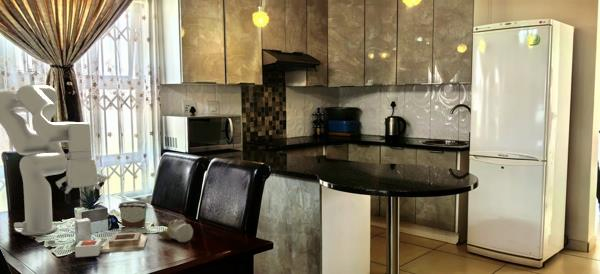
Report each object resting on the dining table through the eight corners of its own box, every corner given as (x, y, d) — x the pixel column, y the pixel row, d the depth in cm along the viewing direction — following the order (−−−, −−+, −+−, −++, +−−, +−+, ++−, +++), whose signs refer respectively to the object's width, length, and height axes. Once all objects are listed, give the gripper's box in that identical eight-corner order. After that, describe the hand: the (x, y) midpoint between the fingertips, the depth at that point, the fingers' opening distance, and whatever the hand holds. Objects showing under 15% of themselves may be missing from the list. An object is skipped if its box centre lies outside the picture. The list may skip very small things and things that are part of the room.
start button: (81, 249, 158) (80, 243, 158) (83, 245, 162) (83, 240, 162) (93, 248, 159) (93, 242, 159) (96, 245, 163) (95, 239, 163)
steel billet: (78, 243, 172) (77, 222, 172) (75, 240, 176) (74, 219, 175) (91, 241, 175) (90, 220, 174) (88, 238, 178) (87, 218, 178)
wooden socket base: (101, 252, 162) (101, 243, 162) (108, 240, 176) (107, 232, 175) (143, 249, 165) (143, 240, 165) (147, 238, 179) (147, 230, 179)
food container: (153, 224, 199) (152, 201, 198) (147, 228, 193) (146, 204, 192) (125, 223, 200) (125, 200, 200) (118, 227, 194) (118, 203, 194)
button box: (75, 257, 157) (75, 246, 157) (80, 250, 164) (79, 241, 163) (97, 255, 158) (97, 245, 158) (101, 249, 165) (101, 239, 165)
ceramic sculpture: (174, 222, 168) (155, 217, 179) (175, 246, 168) (156, 239, 179) (200, 217, 176) (180, 213, 186) (201, 240, 176) (181, 234, 187)
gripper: (56, 158, 165) (59, 206, 166) (107, 154, 175) (110, 199, 176) (52, 157, 171) (55, 203, 172) (102, 153, 181) (104, 197, 182)
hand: (82, 201), depth 174 cm, fingers open, 9 cm apart
